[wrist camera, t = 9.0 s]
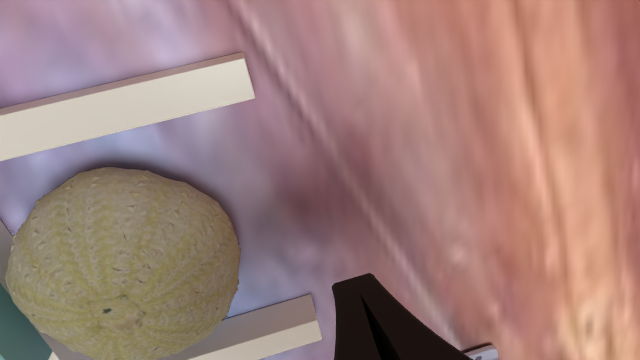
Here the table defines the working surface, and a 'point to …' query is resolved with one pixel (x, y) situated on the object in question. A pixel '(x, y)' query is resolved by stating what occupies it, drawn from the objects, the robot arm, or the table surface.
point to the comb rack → (119, 115)
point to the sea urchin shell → (125, 265)
